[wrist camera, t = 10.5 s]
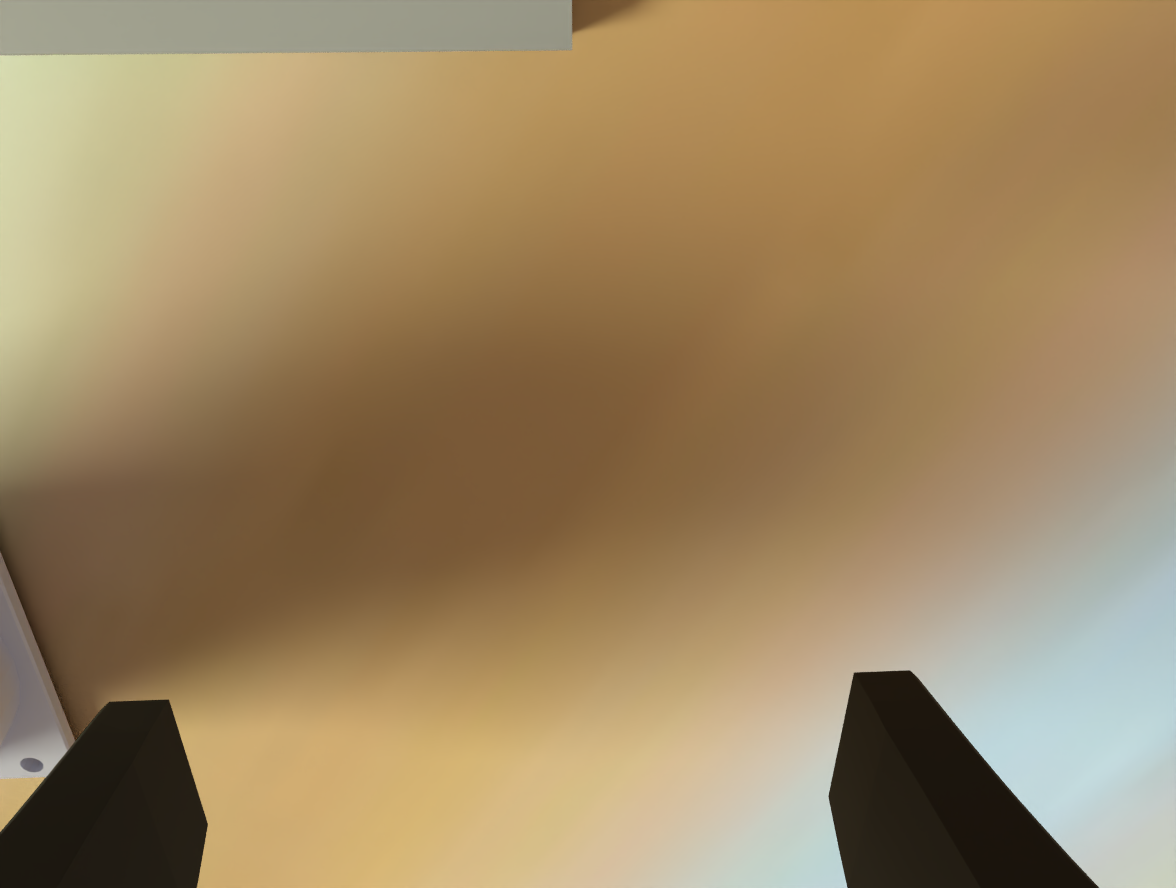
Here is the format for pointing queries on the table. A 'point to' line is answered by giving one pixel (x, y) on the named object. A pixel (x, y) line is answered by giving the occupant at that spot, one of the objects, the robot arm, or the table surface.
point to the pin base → (281, 26)
